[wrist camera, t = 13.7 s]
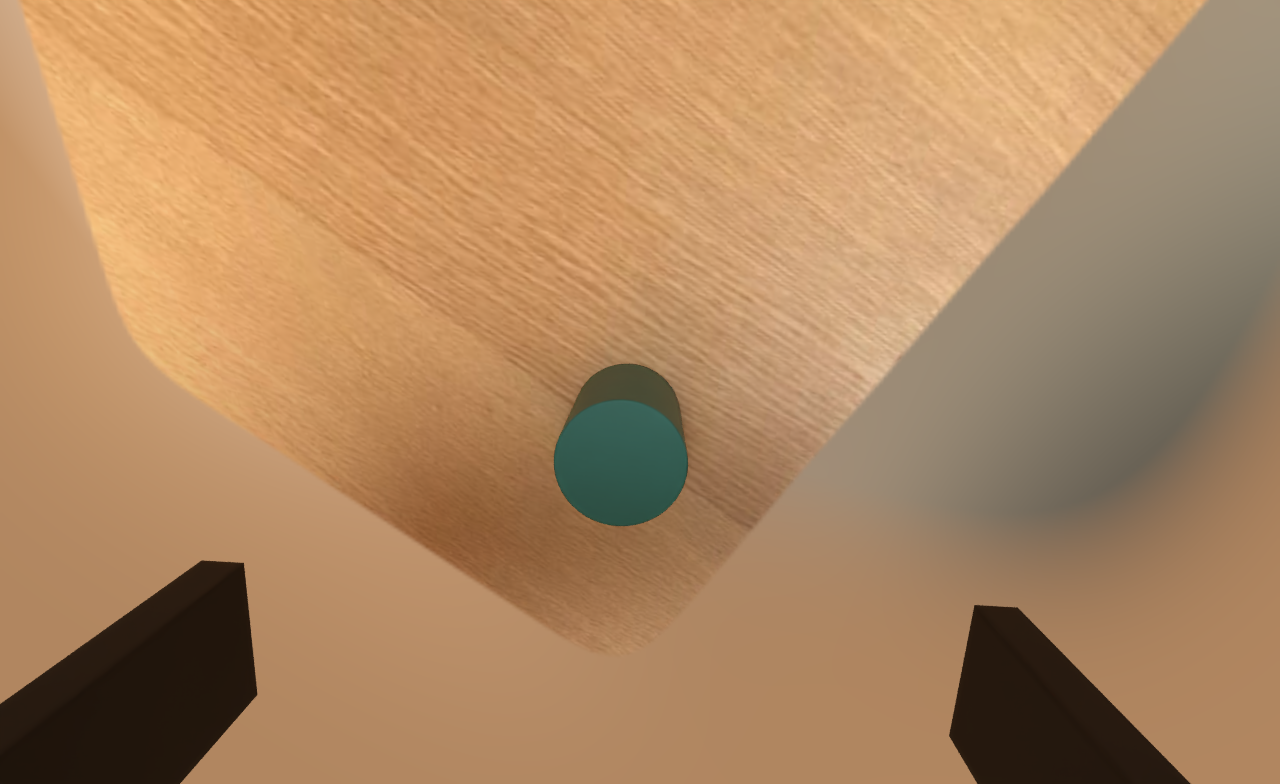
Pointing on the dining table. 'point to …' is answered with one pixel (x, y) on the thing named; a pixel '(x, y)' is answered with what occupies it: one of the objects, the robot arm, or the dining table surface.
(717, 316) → the dining table surface
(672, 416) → the teal cylinder
